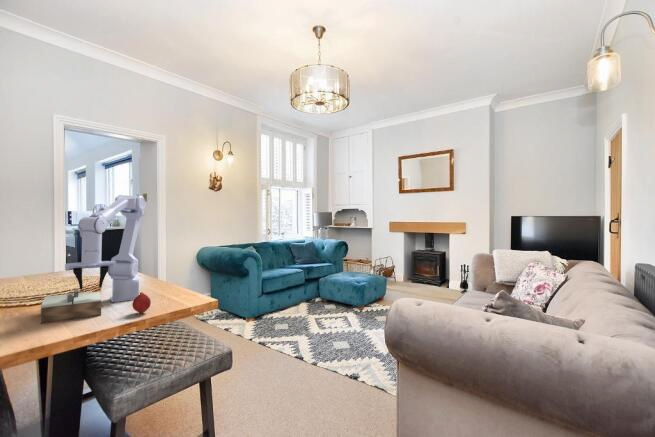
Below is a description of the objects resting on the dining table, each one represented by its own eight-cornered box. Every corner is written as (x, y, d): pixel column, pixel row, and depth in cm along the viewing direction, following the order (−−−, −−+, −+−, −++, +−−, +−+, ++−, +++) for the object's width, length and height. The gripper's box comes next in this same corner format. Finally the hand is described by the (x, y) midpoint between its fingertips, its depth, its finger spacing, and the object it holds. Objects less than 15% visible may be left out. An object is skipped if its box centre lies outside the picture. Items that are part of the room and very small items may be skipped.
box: (99, 305, 123) (99, 293, 123) (100, 315, 113) (101, 301, 113) (44, 312, 114) (45, 298, 114) (40, 323, 103) (41, 308, 103)
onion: (137, 310, 119) (137, 289, 119) (153, 311, 120) (153, 290, 120) (129, 316, 114) (129, 293, 113) (145, 316, 114) (146, 294, 114)
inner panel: (99, 292, 123) (100, 286, 123) (101, 300, 113) (101, 293, 113) (74, 295, 119) (74, 288, 118) (73, 304, 108) (73, 296, 108)
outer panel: (72, 295, 118) (73, 288, 118) (71, 304, 108) (71, 296, 108) (45, 298, 114) (45, 291, 113) (41, 307, 103) (41, 299, 103)
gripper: (64, 252, 106) (64, 293, 106) (116, 250, 115) (116, 288, 115) (65, 250, 112) (65, 288, 112) (115, 248, 120) (114, 284, 121)
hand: (90, 288), depth 114 cm, fingers open, 5 cm apart
